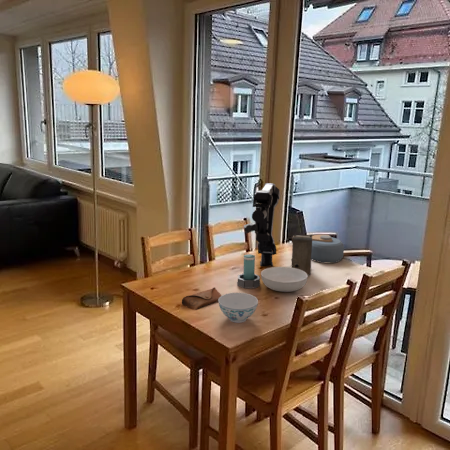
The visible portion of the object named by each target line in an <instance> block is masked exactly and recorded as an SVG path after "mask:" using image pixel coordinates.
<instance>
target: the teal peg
mask: <svg viewBox="0 0 450 450" xmlns="http://www.w3.org/2000/svg"><path fill="white" fill-rule="evenodd" d="M255 265H256V256H255V255H254V254H251V253H250V254H248V253H247V254H244V255H243V273H242V274H243V279H244V280H254V274H255Z"/></svg>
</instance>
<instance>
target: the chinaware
mask: <svg viewBox="0 0 450 450" xmlns="http://www.w3.org/2000/svg"><path fill="white" fill-rule="evenodd" d="M221 295H222V296H221V297H220V298H219V299H218V302H217V303H218V305H219V309H220V310H221V312H222V314H223V315H224V316H226V317H227V318H228V320H229V321H230V322H232V323H234V324H235V323H237V324H238V323H239V324H240V323H245V322H246V321H247V319H249V318H250V317H251V316H252V315H253V314H254V313H255V311H256V310H257V307H258V304H259V300H258V298H257V297H256V296H255V295H252V294H250V293H246V292H229V293H225V294H221Z"/></svg>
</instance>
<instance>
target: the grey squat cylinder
mask: <svg viewBox="0 0 450 450" xmlns="http://www.w3.org/2000/svg"><path fill="white" fill-rule="evenodd" d="M311 236H312V252H311V260H312V259H313V260H312V261H314V260H315V261H314V262H317V261H319V262H318V263H324V262H334V263H338V262H340V261H342V258H344V252H345V251H344V249H345V245H344V242H342V241H341V239H339V238H336V237H332V236H331V235H329V234H315V235H311Z"/></svg>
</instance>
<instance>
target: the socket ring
mask: <svg viewBox="0 0 450 450" xmlns="http://www.w3.org/2000/svg"><path fill="white" fill-rule="evenodd" d="M260 281H261V275H259V274H256V273H254V280H244V279H243V273H240V274H238V275H237V283H236V285H237V286H238V287H240V288H241V289H256V288H258V287H260V285H261V284H260Z"/></svg>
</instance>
